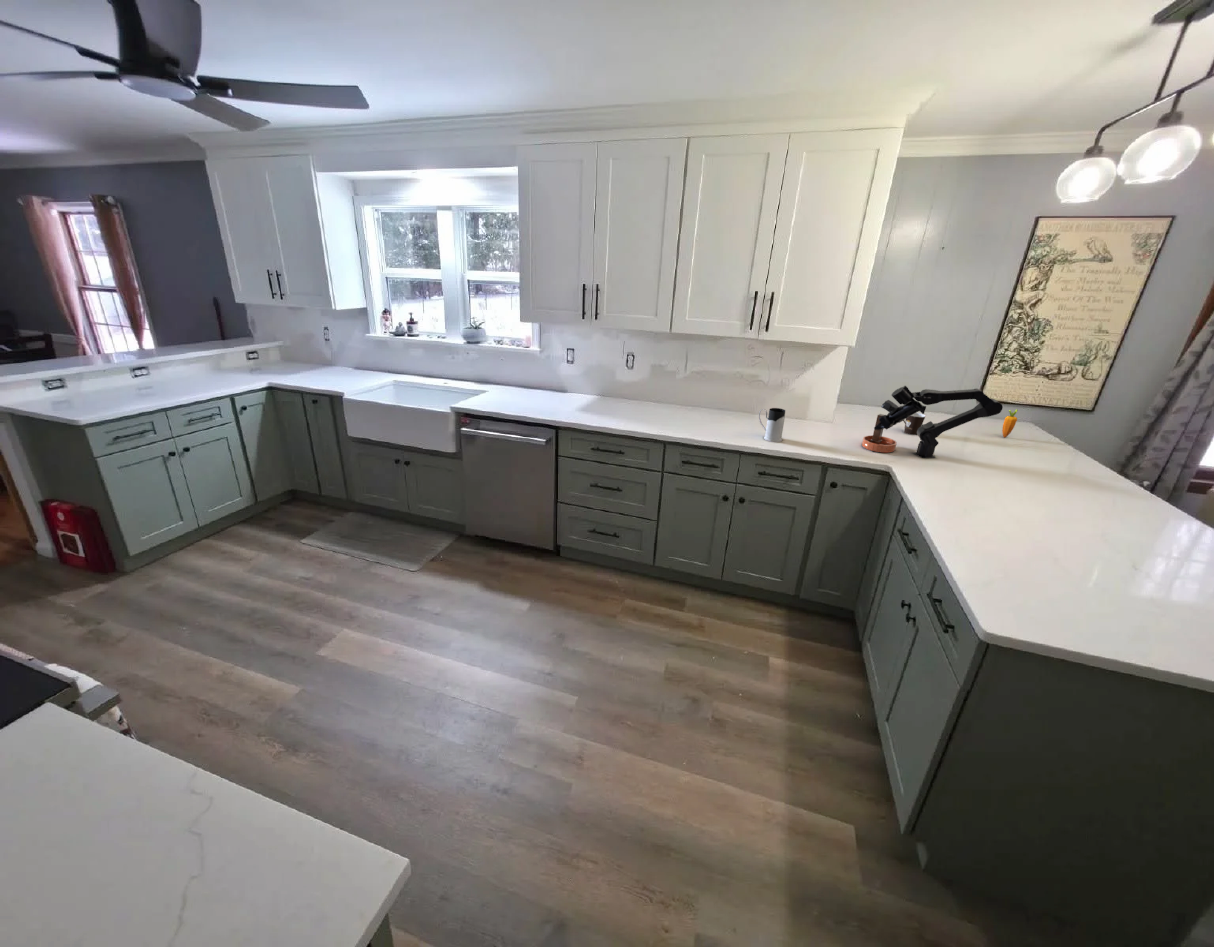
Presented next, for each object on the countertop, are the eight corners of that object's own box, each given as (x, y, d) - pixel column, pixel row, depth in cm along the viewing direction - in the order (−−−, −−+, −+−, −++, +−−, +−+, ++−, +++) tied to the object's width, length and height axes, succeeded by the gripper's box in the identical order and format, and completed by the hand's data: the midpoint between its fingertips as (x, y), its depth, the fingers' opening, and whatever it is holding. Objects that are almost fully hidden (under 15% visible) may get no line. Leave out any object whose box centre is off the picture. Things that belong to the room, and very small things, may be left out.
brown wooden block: (881, 442, 239) (888, 415, 233) (878, 444, 236) (884, 416, 231) (873, 440, 241) (879, 413, 236) (869, 441, 239) (876, 414, 233)
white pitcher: (775, 443, 242) (780, 413, 236) (751, 435, 252) (755, 407, 246) (785, 439, 247) (790, 410, 241) (761, 432, 257) (765, 404, 251)
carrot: (999, 438, 253) (1009, 409, 247) (997, 435, 257) (1007, 407, 251) (1011, 439, 251) (1021, 411, 245) (1009, 437, 255) (1019, 408, 249)
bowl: (901, 452, 232) (903, 444, 231) (873, 454, 230) (875, 446, 229) (881, 442, 245) (883, 434, 243) (855, 443, 243) (857, 436, 241)
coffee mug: (923, 436, 254) (928, 417, 251) (904, 435, 256) (909, 416, 252) (915, 429, 265) (919, 411, 261) (897, 428, 267) (902, 410, 263)
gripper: (903, 392, 233) (874, 410, 244) (888, 399, 221) (858, 417, 233) (917, 412, 230) (887, 429, 242) (903, 420, 219) (871, 437, 231)
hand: (875, 428), depth 237 cm, fingers closed on brown wooden block, 3 cm apart
